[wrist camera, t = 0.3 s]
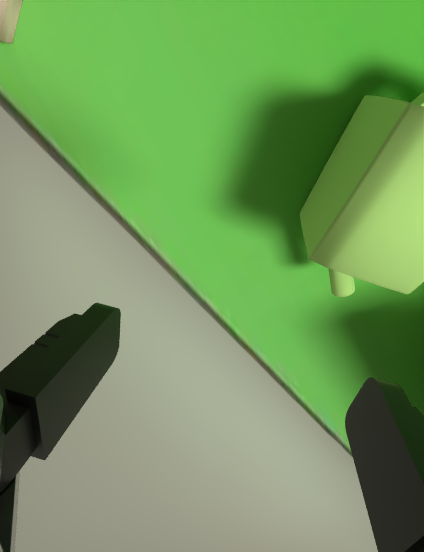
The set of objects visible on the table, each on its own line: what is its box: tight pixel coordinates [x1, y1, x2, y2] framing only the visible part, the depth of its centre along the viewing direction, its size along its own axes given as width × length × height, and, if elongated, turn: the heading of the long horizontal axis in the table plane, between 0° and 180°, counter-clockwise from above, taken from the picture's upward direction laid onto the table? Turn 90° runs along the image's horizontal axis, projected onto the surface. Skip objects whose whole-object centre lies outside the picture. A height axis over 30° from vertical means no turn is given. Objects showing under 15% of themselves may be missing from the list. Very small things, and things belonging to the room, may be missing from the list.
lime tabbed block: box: [300, 92, 424, 297], centre depth 22 cm, size 18×10×10 cm, turn 162°
